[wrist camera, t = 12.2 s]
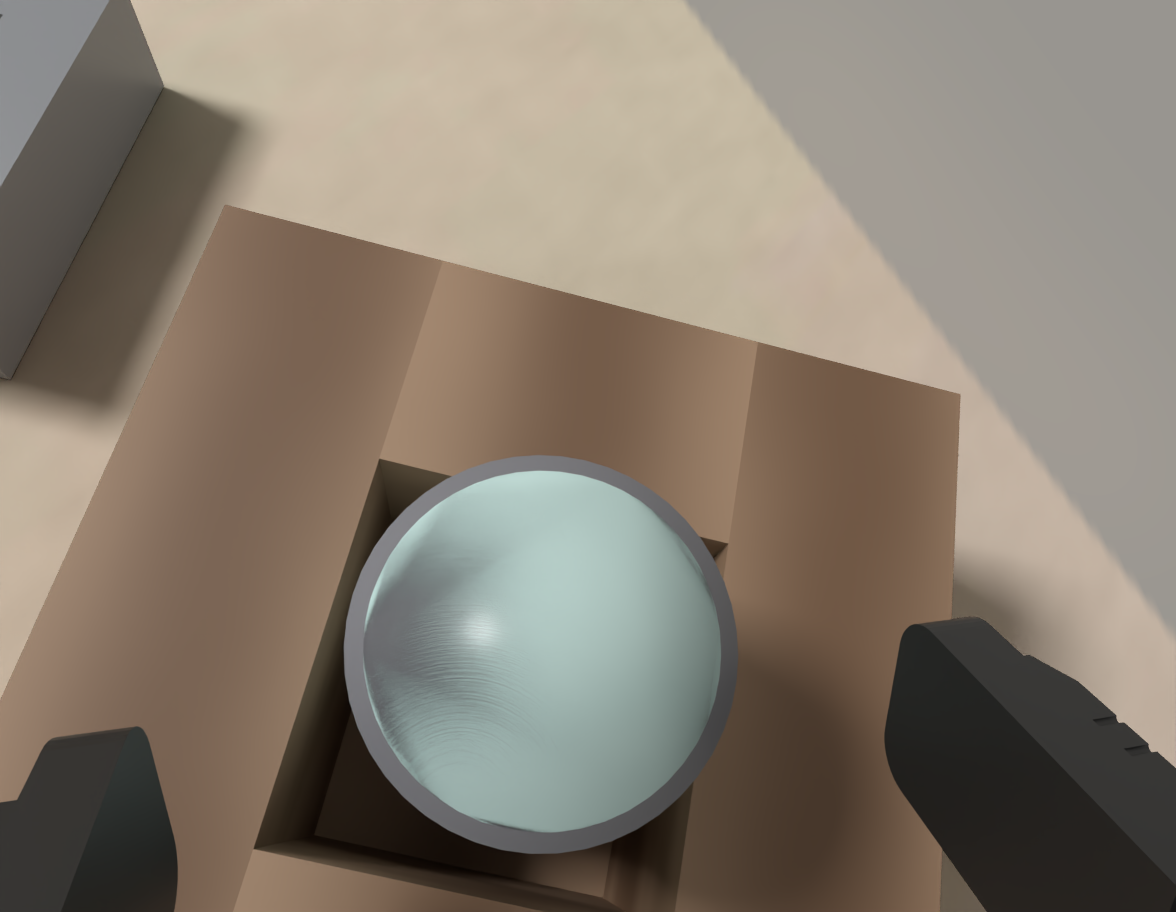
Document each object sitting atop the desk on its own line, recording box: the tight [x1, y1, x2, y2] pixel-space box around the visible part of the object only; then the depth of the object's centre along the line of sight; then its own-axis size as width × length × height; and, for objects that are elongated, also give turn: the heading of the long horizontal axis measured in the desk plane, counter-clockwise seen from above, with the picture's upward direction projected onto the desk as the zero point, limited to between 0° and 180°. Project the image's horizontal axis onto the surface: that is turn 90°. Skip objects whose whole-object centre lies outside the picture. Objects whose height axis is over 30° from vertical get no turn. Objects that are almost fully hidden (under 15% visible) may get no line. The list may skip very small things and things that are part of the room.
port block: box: [0, 205, 960, 912], centre depth 17 cm, size 14×14×7 cm
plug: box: [344, 455, 738, 854], centre depth 14 cm, size 4×4×10 cm
